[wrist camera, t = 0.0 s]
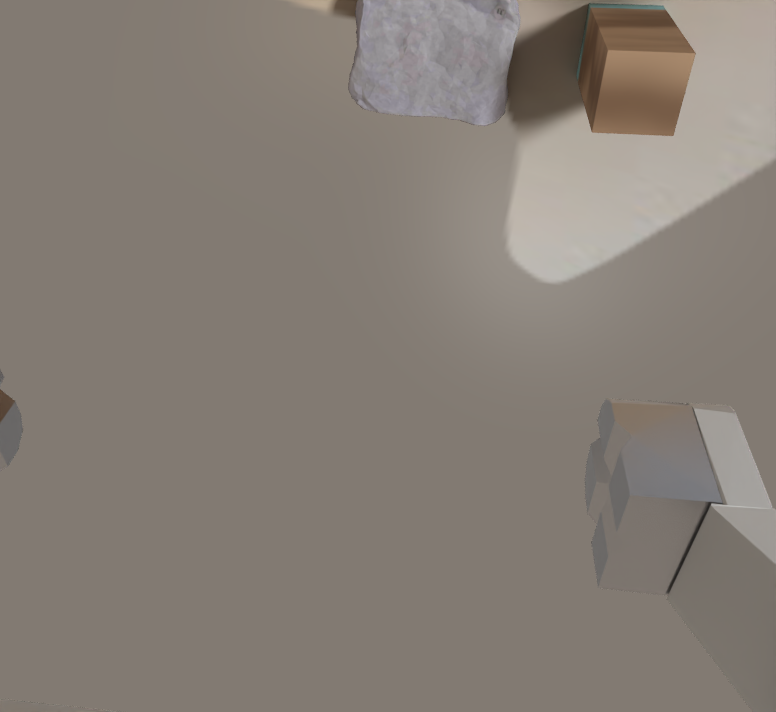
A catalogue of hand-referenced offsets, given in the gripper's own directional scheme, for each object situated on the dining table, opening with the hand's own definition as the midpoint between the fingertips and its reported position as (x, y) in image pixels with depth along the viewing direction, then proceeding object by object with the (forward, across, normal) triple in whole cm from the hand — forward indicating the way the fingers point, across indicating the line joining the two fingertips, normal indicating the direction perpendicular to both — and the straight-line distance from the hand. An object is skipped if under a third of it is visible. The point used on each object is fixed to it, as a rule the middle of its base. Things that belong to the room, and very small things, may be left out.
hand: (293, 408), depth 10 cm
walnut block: (+48, -13, +9) cm, 51 cm away
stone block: (+48, 0, +9) cm, 49 cm away
